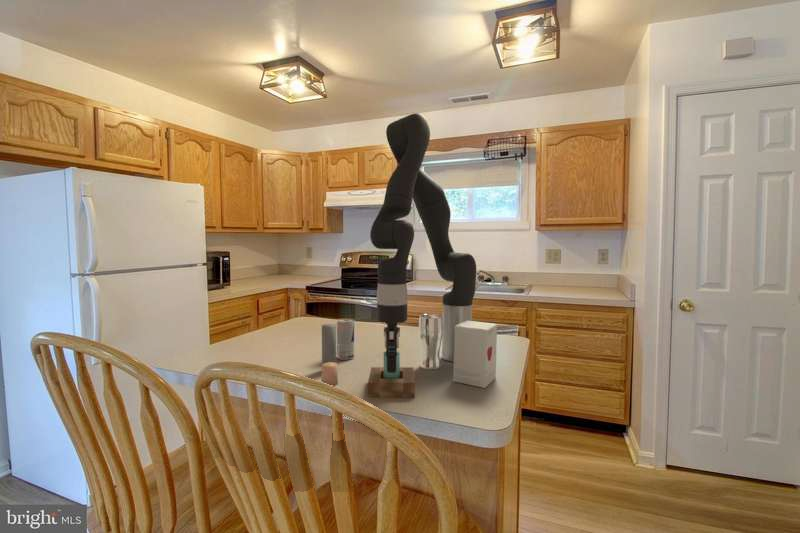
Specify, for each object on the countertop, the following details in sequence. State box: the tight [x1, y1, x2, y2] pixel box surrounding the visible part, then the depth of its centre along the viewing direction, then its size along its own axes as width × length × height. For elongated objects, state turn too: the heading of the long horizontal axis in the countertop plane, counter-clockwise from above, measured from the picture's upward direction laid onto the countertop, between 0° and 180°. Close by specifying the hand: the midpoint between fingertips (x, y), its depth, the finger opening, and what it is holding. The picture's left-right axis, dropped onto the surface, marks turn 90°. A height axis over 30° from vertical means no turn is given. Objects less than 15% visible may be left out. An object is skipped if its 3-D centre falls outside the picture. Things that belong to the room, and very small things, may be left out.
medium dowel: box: [383, 350, 401, 379], centre depth 94 cm, size 4×4×9 cm
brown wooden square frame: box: [367, 366, 416, 398], centre depth 95 cm, size 11×11×4 cm
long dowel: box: [321, 323, 337, 365], centre depth 107 cm, size 4×4×13 cm
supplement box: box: [452, 320, 498, 389], centre depth 100 cm, size 9×9×15 cm
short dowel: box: [321, 362, 339, 387], centre depth 97 cm, size 4×4×5 cm
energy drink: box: [336, 318, 355, 361], centre depth 119 cm, size 5×5×12 cm
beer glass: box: [418, 313, 443, 371], centre depth 111 cm, size 7×7×15 cm
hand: (391, 366), depth 94 cm, fingers open, 8 cm apart
